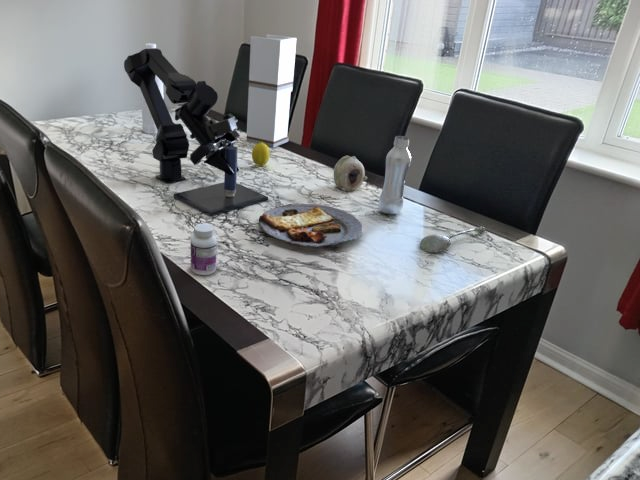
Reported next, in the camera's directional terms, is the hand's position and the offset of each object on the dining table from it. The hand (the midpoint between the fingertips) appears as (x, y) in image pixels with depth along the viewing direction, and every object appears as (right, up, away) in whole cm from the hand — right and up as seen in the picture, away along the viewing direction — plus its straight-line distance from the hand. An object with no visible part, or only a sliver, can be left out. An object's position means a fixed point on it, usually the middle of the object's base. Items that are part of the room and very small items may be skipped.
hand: (235, 172), depth 152 cm
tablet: (-4, -6, +5) cm, 9 cm away
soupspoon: (+54, -19, -12) cm, 58 cm away
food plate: (+18, -17, -11) cm, 27 cm away
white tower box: (+10, +23, +58) cm, 63 cm away
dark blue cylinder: (-2, -5, +4) cm, 7 cm away
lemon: (+7, +8, +31) cm, 33 cm away
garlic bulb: (+33, -1, +18) cm, 37 cm away
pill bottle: (-6, -27, -32) cm, 42 cm away
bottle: (-32, +27, +61) cm, 75 cm away
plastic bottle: (+41, -10, +3) cm, 42 cm away
